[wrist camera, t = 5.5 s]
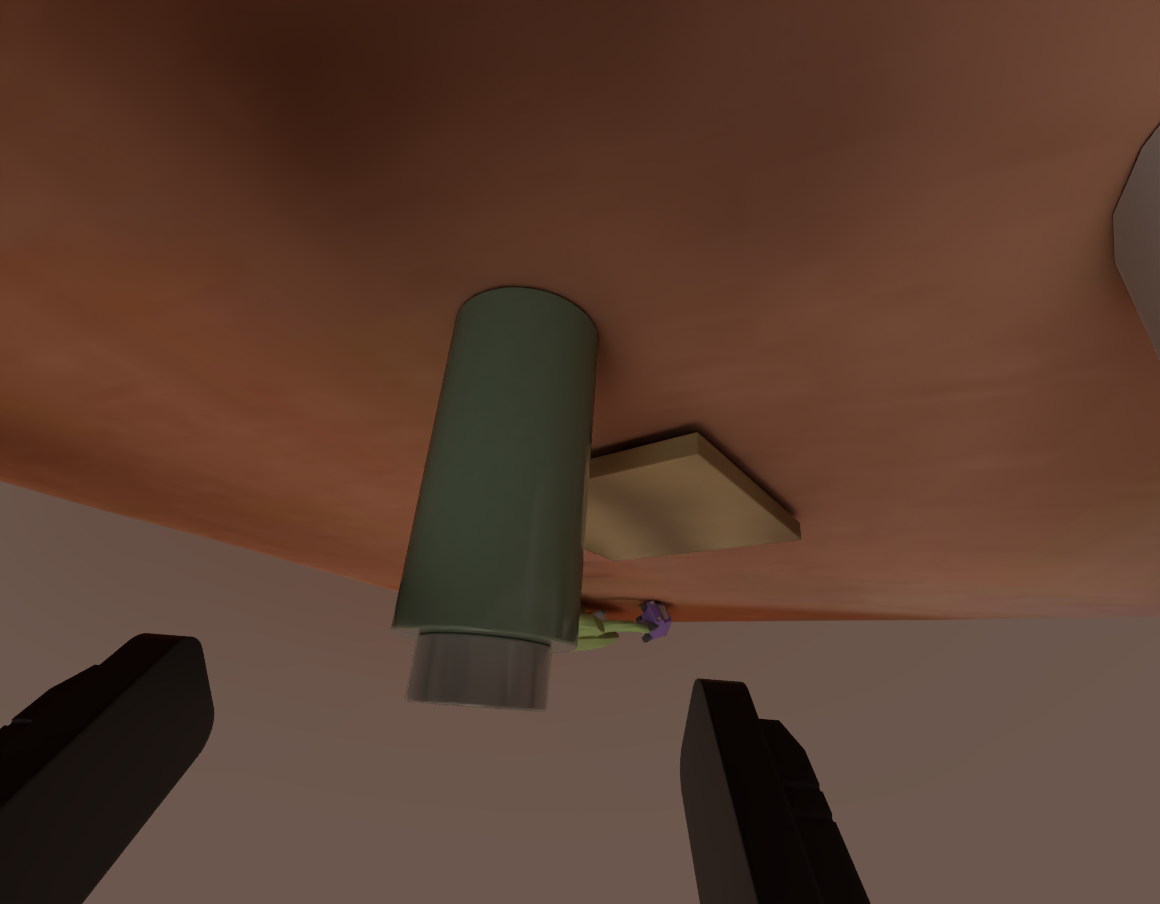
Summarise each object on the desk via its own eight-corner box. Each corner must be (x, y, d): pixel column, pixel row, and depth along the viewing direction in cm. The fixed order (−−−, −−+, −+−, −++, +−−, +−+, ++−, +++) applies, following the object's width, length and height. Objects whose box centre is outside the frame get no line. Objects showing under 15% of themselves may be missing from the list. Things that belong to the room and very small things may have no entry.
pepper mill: (523, 388, 20) (480, 706, 15) (425, 321, 17) (335, 696, 12) (626, 349, 17) (610, 717, 13) (533, 262, 14) (470, 707, 10)
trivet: (614, 540, 36) (613, 561, 36) (481, 478, 28) (477, 504, 27) (799, 514, 29) (802, 540, 29) (697, 421, 21) (698, 454, 20)
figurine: (567, 546, 39) (560, 629, 36) (697, 614, 59) (699, 669, 56) (386, 563, 47) (371, 630, 45) (554, 616, 68) (549, 665, 65)
